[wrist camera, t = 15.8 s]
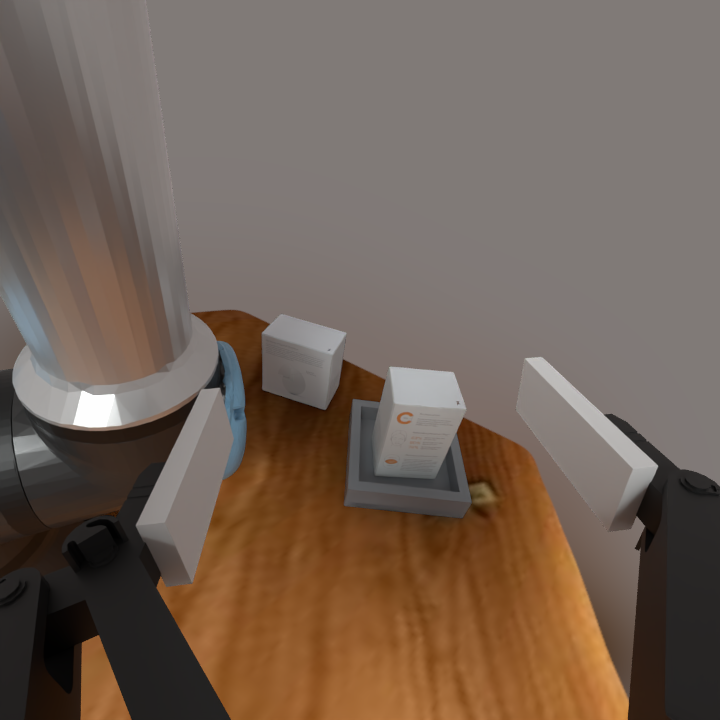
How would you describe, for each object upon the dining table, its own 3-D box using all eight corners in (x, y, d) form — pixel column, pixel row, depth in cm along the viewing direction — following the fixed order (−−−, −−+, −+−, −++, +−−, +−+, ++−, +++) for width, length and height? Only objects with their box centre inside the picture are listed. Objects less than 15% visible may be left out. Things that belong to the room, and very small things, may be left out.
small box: (427, 441, 54) (455, 370, 46) (435, 480, 49) (468, 409, 41) (369, 436, 53) (388, 364, 45) (372, 477, 48) (394, 403, 40)
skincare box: (339, 384, 62) (348, 330, 55) (325, 411, 57) (333, 356, 50) (279, 365, 63) (281, 310, 57) (260, 390, 58) (259, 333, 52)
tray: (344, 505, 46) (347, 489, 43) (349, 415, 57) (353, 399, 55) (462, 518, 47) (471, 502, 44) (444, 427, 58) (451, 411, 56)
